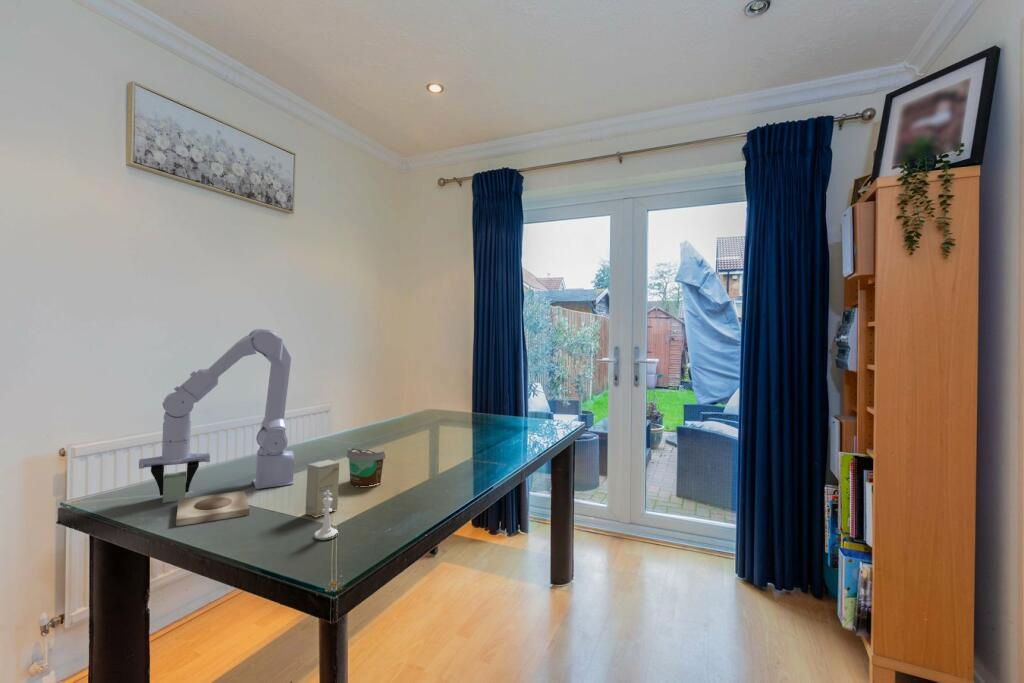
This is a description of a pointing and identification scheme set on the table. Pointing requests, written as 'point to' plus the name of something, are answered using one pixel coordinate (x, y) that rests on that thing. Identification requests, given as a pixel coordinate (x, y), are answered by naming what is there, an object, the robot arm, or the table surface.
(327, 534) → the chess piece
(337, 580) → the table surface
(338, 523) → the table surface
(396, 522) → the table surface
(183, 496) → the green block
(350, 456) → the food container
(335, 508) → the skincare box
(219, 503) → the display base
